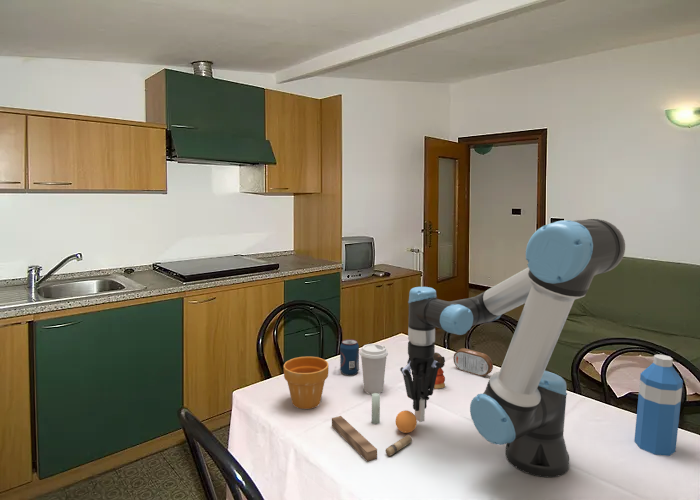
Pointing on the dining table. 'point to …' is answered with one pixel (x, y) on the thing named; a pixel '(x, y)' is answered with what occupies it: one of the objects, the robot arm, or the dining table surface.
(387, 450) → the pin
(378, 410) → the side pin
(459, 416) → the dining table surface
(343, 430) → the brown wooden bar
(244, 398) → the dining table surface
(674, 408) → the water bottle
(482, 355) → the tin
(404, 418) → the ball
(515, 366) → the robot arm
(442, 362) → the figurine
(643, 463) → the dining table surface
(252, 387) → the dining table surface
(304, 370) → the flower pot
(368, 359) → the coffee cup
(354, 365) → the soda can
